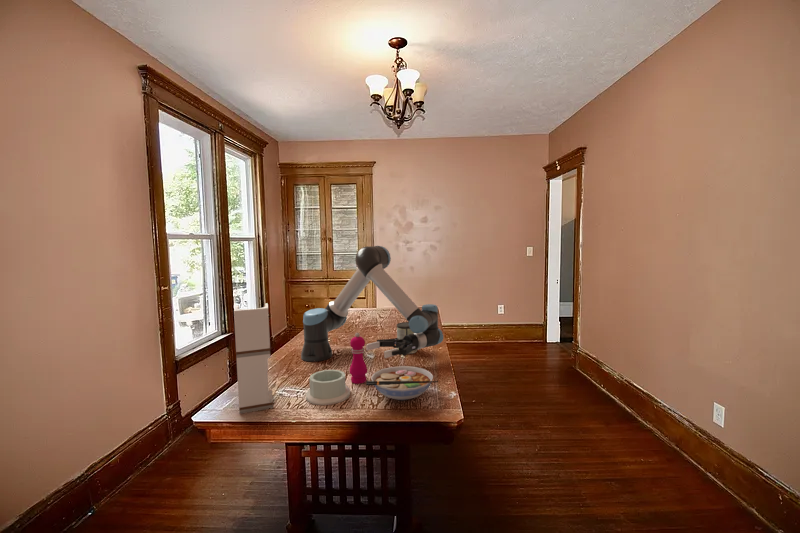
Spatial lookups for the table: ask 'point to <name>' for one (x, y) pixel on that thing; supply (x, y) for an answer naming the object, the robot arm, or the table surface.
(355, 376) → the pepper mill
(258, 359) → the spiral stair tower
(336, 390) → the well
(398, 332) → the coffee can
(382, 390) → the ramen bowl
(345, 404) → the table surface
